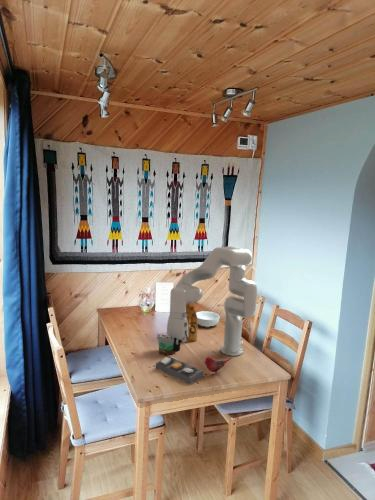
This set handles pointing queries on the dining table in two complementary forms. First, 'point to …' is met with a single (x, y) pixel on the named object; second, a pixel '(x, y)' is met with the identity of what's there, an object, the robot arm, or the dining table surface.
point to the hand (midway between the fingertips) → (176, 350)
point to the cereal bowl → (207, 318)
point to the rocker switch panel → (180, 371)
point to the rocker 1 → (165, 361)
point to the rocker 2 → (188, 370)
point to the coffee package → (191, 323)
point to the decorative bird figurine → (214, 364)
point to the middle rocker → (176, 365)
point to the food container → (165, 345)
